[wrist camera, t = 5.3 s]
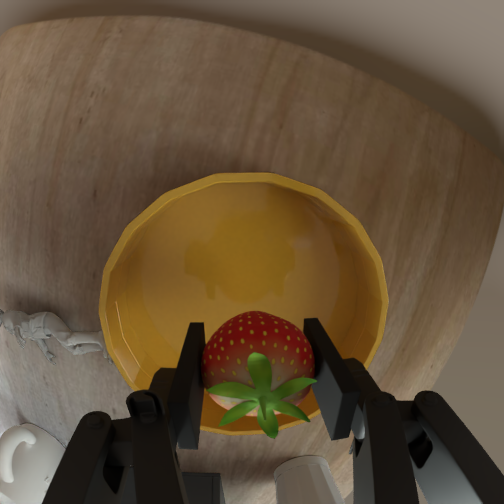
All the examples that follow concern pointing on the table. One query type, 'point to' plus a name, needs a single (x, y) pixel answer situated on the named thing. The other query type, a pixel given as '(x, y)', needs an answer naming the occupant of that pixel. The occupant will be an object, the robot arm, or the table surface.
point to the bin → (196, 485)
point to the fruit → (258, 369)
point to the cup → (306, 482)
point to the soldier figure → (51, 324)
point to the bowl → (239, 276)
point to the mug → (27, 464)
